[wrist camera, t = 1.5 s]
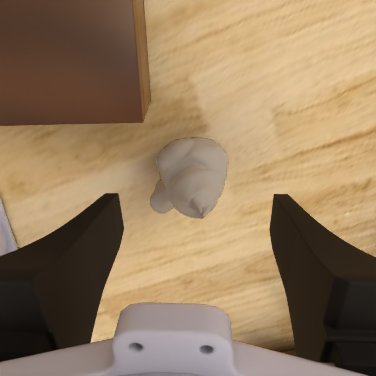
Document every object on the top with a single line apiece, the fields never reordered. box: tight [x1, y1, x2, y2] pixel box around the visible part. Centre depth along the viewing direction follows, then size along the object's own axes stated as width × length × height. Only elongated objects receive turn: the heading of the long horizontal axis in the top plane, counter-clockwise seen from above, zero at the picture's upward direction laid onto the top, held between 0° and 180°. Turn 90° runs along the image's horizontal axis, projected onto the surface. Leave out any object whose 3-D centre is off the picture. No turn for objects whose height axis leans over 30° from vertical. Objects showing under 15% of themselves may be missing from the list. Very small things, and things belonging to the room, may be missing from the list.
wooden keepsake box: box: [0, 0, 151, 126], centre depth 19 cm, size 9×12×6 cm
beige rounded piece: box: [150, 137, 228, 219], centre depth 22 cm, size 5×7×8 cm
